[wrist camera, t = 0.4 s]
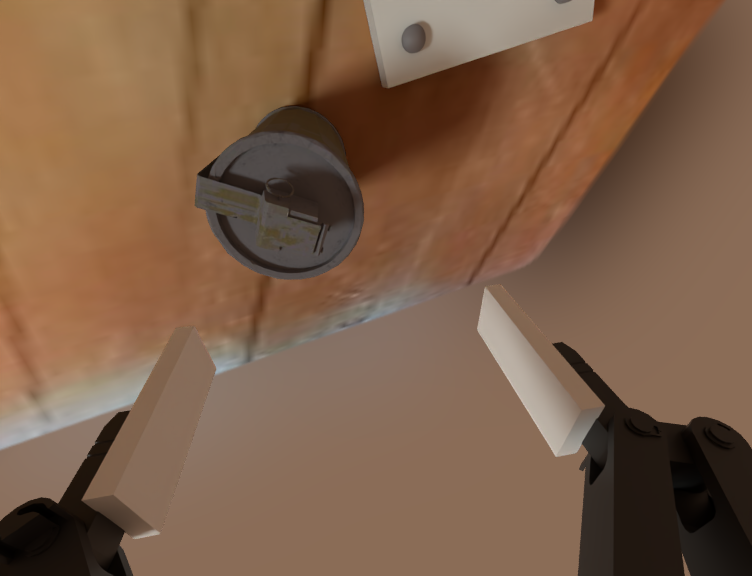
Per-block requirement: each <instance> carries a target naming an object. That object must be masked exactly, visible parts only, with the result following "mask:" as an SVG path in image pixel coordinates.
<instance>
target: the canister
mask: <svg viewBox="0 0 752 576" xmlns="http://www.w3.org/2000/svg"><path fill="white" fill-rule="evenodd" d="M195 206H196V207H197V208H201V209H204V210H206V215H207V219H208V222H209V225H210V227H211V230H212V232H213V233H214V235H215V236H216V237H217V239H218V240H219V242H220V243H221V244H222V246H223V247H224V249H225V250H226V251H227V253H228V254H229V255H231V256H232V257H233V258H235V259H236V260H237V261H239V262H240V263H241V264H242V265H244V266H246V267H248V268H249V269H251V270H253V271H255V272H257V273H260V274H263V275H267V276H270V277H273V278H277V279H305V278H311V277H315V276H318V275H320V274H323V273H325V272H327V271H329V270H330V269H332V268H334V267H336V266H337V265H339V264H340V263H341V262H342V261H343V260H344V259H345V258H346V257H347V256H348V255H349V254H350V252H351V251H352V249H353V248H354V247H355V245H356V243H357V241H358V239H359V236H360V233H361V229H362V226H363V222H364V204H363V199H362V193H361V190H360V188H359V185H358V183H357V180H356V178H355V176H354V175H353V173H352V171H351V170H350V168H349V165H348V162H347V159H346V152H345V148H344V144H343V141H342V139H341V137H340V135H339V133H338V132H337V130H336V129H335V127H334V126H333V125H332V124H331V123H330V122H329V121H328V120H327V119H326V118H325V117H324V116H322V115H321V114H319V113H318V112H315V111H313V110H311V109H308V108H305V107H299V106H288V107H282V108H279V109H276V110H274V111H272V112H270V113H269V114H268V115H267V116H265V117H264V118H263V119H262V120H261V121H260V123H259V124H258V126H257V127H256V129H255V130H254V131H252V132H251V133H250V134H249V135H248V136H246V137H243V138H241V139H239V140H238V141H236V142H235V143H233V144H232V145H230V146H229V147H228V148H226V149H225V150H224V151H223V152H222V154H220V155H219V156H218V157H217V158H216V159H215V160H213V161H212V162H211V163H210V164H209V165H207V166H206V167H205V168H204V169H203V170H201V171H200V172H199V173H198V174H197V183H196V195H195Z"/></svg>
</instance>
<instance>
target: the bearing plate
mask: <svg viewBox="0 0 752 576" xmlns="http://www.w3.org/2000/svg"><path fill="white" fill-rule="evenodd" d="M594 1H595V0H364V5H365V10H366V14H367V19H368V24H369V28H370V33H371V37H372V42H373V47H374V51H375V56H376V61H377V65H378V70H379V74H380V79H381V84H382V87H385V88H391V87H394V86H397V85H400V84H403V83H406V82H409V81H412V80H415V79H418V78H421V77H424V76H427V75H430V74H433V73H436V72H439V71H442V70H445V69H448V68H451V67H454V66H457V65H460V64H463V63H466V62H469V61H472V60H475V59H478V58H481V57H485V56H488V55H491V54H494V53H497V52H500V51H503V50H506V49H509V48H512V47H515V46H518V45H521V44H524V43H527V42H530V41H533V40H536V39H539V38H542V37H545V36H548V35H551V34H554V33H557V32H560V31H563V30H566V29H569V28H572V27H575V26H578V25H581V24H584V23H587V22H590V21H592V20H593V11H594Z"/></svg>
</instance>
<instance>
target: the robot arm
mask: <svg viewBox="0 0 752 576" xmlns="http://www.w3.org/2000/svg"><path fill="white" fill-rule="evenodd" d="M477 330H478V332H479V333H480V335H481V336H482V338H483V340H484V341H485V343H486V345H487V346H488V348H489V350H490V351H491V353H492V354H493V356H494V358H495V359H496V361H497V362H498V364H499V366H500V367H501V369H502V370H503V372H504V374H505V375H506V377H507V379H508V380H509V382H510V383H511V385H512V387H513V388H514V390H515V391H516V393H517V395H518V396H519V398H520V400H521V401H522V403H523V404H524V406H525V408H526V409H527V411H528V412H529V414H530V415H531V417H532V419H533V420H534V422H535V423H536V425H537V427H538V428H539V430H540V432H541V433H542V435H543V437H544V438H545V440H546V441H547V443H548V444H549V446H550V448H551V449H552V451H553V453H554V454H555V456H556V457H558V456H563V455H568V454H574V453H577V451H578V449H579V448H580V446H581V445H582V444H583V445H584V447H585V448H586V450H587V451H588V455H587V456H586V457H585V459H584V461H583V462H582V464H581V466H580V468H579V469H580V470H582V471H583V470H584V468H585V467H586V470H585V485H584V498H583V513H582V526H581V540H580V555H579V568H578V569H579V570H578V576H685V574H684V567H683V559H682V553H683V556H684V559H685V562H686V564H687V567H688V570H689V572H690V575H691V576H752V449H751V447H750V446H749V444H748V443H747V441H746V440H745V439H744V438H743V437H742V436H741V435H740V434H739V433H738V432H736V431H735V430H734V429H733V428H731V427H730V426H728V425H726V424H724V423H722V422H720V421H718V420H715V419H711V418H708V417H697V418H694V419H692V420H691V422H690V423H689V424H688V425H687V426H686V425H679V424H671V423H663V422H657V421H656V420H654V419H653V418H652V417H650V416H649V415H648V414H646V413H644V412H642V411H640V410H637V409H632V408H628V407H627V406H626V405H625V404H624V403H623V402H622V401H621V400H620V399H619V397H618V396H617V395H616V394H615V393H614V392H613V391H612V390H611V389H610V388H609V387H608V385H607V384H606V383H605V382H604V381H603V380H602V379H601V378H600V377H599V376H598V375H597V374H596V373H595V372H593V369H592V368H591V367H590V366H589V365H588V364H587V363H585V361H584V360H583V358H581V356H580V355H579V354H578V353H577V352H576V351H575V350H573V349H572V348H570V347H569V346H567V345H566V344H564V343H563V342H560V343H554V344H552V343H551V342H550V341H549V340H548V339H547V338H546V336H545V335H544V334H543V333H542V332H541V331H540V330H539V328H538V327H537V326H536V325H535V324H534V323H533V322H532V320H531V319H530V318H529V317H528V316H527V314H526V313H525V312H524V311H523V310H522V309H521V307H520V306H519V305H518V304H517V303H516V302H515V301H514V299H513V298H512V297H511V296H510V295H509V294H508V292H507V291H506V290H505V289H504V288H503V287H502V286H501V284H500V285H493V286H485V290H484V296H483V301H482V307H481V312H480V318H479V323H478V329H477ZM215 371H216V367H215V365H214V363H213V361H212V359H211V357H210V355H209V353H208V351H207V349H206V347H205V345H204V343H203V341H202V339H201V337H200V335H199V333H198V331H197V330H196V328H195V326H187V327H180V328H176V329H175V330H174V332H173V334H172V336H171V338H170V339H169V341H168V343H167V345H166V347H165V349H164V350H163V352H162V354H161V356H160V358H159V360H158V361H157V363H156V365H155V367H154V369H153V371H152V372H151V374H150V376H149V378H148V380H147V381H146V383H145V385H144V387H143V389H142V391H141V392H140V394H139V396H138V398H137V400H136V402H135V403H134V405H133V407H132V409H131V411H124V412H118V413H117V414H116V415H115V417H113V418H112V419H111V420H110V421H109V423H108V424H107V425H106V426H105V427H104V428H103V430H102V431H101V433H100V435H99V436H98V438H97V440H96V441H95V445H94V446H92V448H91V450H90V451H89V453H88V455H87V459H85V460H84V462H83V463H82V465H81V466H80V468H79V470H78V471H77V473H76V475H75V477H74V478H73V480H72V482H71V483H70V485H69V487H68V488H67V490H66V492H65V493H64V495H63V497H62V498H61V500H60V502H59V503H58V504H57V503H56V502H54V501H52V500H51V499H49V498H42V497H41V498H38V499H34V500H30V501H28V502H26V503H25V504H23V505H21V506H19V507H17V508H16V509H14V510H13V511H12V512H10V514H8V515H7V516H5V517H4V518H3V519H2V520H1V521H0V576H133V574H132V571H131V568H130V566H129V563H128V560H127V558H126V555H125V553H124V550H123V549H122V548H121V546H120V545H119V544H120V542H121V540H122V537H123V535H124V532H125V533H127V534H128V535H130V536H131V537H132V538H134V539H137V538H142V537H147V536H152V535H158V534H161V531H162V528H163V525H164V522H165V519H166V516H167V513H168V510H169V507H170V504H171V501H172V498H173V495H174V493H175V489H176V487H177V484H178V481H179V478H180V475H181V472H182V469H183V466H184V463H185V460H186V457H187V454H188V451H189V448H190V445H191V442H192V439H193V436H194V433H195V430H196V427H197V424H198V421H199V418H200V415H201V412H202V409H203V407H204V404H205V401H206V398H207V395H208V392H209V389H210V386H211V383H212V380H213V377H214V374H215Z"/></svg>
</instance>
